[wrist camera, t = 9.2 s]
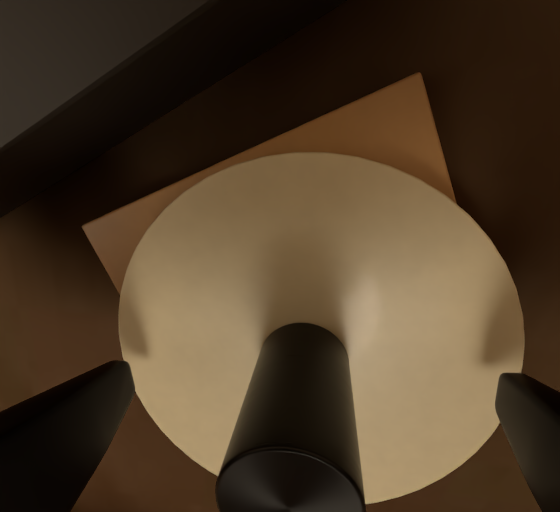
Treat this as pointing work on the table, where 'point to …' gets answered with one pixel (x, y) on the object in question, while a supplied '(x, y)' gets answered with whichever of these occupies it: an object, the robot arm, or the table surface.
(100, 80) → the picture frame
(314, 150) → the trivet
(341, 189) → the lid
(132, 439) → the table surface
